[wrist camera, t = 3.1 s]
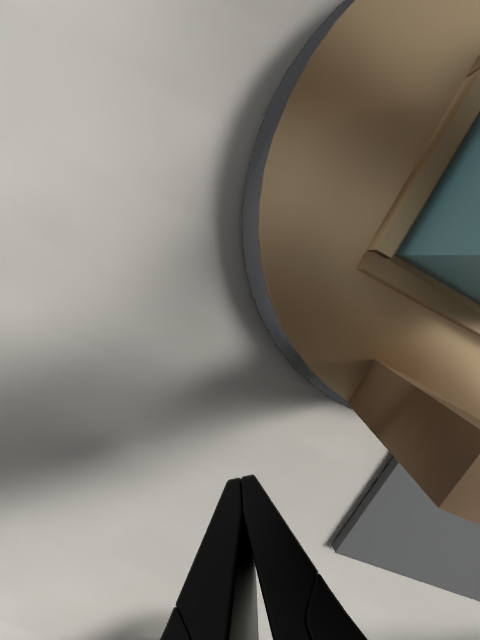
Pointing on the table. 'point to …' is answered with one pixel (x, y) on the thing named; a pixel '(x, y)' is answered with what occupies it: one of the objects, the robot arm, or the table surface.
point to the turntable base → (253, 196)
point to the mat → (413, 536)
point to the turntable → (380, 232)
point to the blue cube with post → (451, 224)
